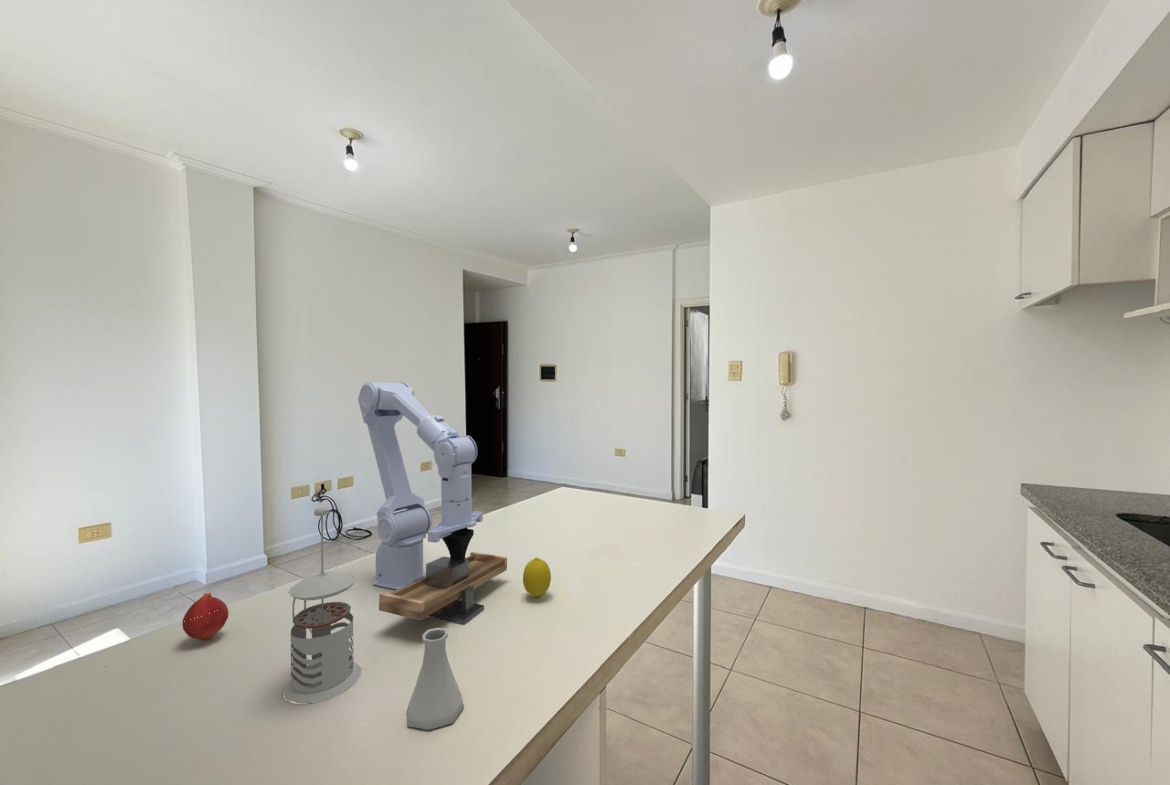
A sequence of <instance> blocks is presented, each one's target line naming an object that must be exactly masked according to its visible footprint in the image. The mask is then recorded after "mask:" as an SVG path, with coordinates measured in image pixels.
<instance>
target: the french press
mask: <svg viewBox="0 0 1170 785" xmlns="http://www.w3.org/2000/svg"><path fill="white" fill-rule="evenodd" d="M329 514H330V509H329V507H328V506H326V505H320V506H318V507H316V508H315V509H314V512H313V515H314V516H316V517H320V551H321V554H320V557H321V558H320V559H321V560H320V561H321V562H320V565H321V566H320V568H321V570H320V571H319V572H316V573H314V574H311V575H308V576H307V575H306V577H304V578H302V579H300V581H298V582H296V583H295V584H294V585H293V586H291V587H290V588H289V590H288V594H289V595H290V596H291V597H292V598H293V600H292V616H291V617H292V624H293V626H292V628H291V629H290V652H291V653H290V679H289V681H287V683H286V684H285V685H284V687H283V689H284V690H282V692H283V695H284V696H285V698H286V700H289V701H294V702H296V703H301V704H300V705H303V704H302V703H313V702H317V703H320V701H321V702H324V701H328V700H330V699H333V698H335V697H336V696H338V695H341V694H343V693H344V692H347V690H348V688H349V687H350V686H351V687H352V685H353V684H354V685H355V684H356V683H357V682H358V680H359V679H360V678H361V676H362V674H361V672H362V668H361V666H360V665H359V664H358V663H356V662H355V661H354V639H353V637H354V615H353V614H352V613H351V608H352V606H350V605H349V603H346V602H344V601H327V602H324V600H325V599H327V598H331V597H334V596H339V595H340V594H342V593H343V592H346V591H348V590H349V589H350V588H351V587H352V586H353V585H354V583H355V578H354V576H352V575H351V574H349V573H346V572H344V571H343V572H342V571H338V570H335V571H334V570H330V571H324V516H327V515H329ZM296 600H300V601H303V609H301V611H299V612H298V613H297V614H295V603H296ZM316 600H321V603H319V604H318V603H317V604H316V605H315V604H314V605H311V606H309V607H307V601H316ZM343 619H346V620H348V621H349V622H350V623H348V622H346V621H342V622H339V621H341V620H343ZM337 628H341V629H340V630H337V631H335V632H333V633H332V631H334V630H335V629H337ZM307 629H308V630H309V632H310V634H311V638H307ZM308 655H309V656H311V659H308V658H307V656H308ZM360 675H361V676H360ZM358 678H359V679H358ZM355 682H356V683H355ZM354 685H353V686H354ZM351 687H350V688H351ZM350 688H349V689H350ZM346 689H347V690H346ZM323 700H324V701H323ZM313 704H314V703H313Z"/></svg>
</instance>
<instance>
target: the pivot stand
mask: <svg viewBox="0 0 1170 785" xmlns="http://www.w3.org/2000/svg"><path fill="white" fill-rule="evenodd" d="M421 578H424V576H423V577H421ZM421 578H419V579H421ZM419 579H417V580H419ZM417 580H415V581H417ZM415 581H414V582H415ZM474 590H475V589H474V586H471V585H469V586H467V587H466V588H464V589H463V590H461V600H460V599H456V600H454V601H453V602H451V603H449V604H448V605H446V606H444V607H442V608H441V609H439V610H437V611H436V612H434V613H432V614H430V615H429V616H428V617H430V618H432V619H433V618H434V619H437V620H442V621H447V622H450V623H454V624H460V625H462V626H463V625H464V626H465V625H466V624H467V623H469V622H470V621H471V620H473V618H475V617H476V616H477V615H479V614H480V613H481V612H483V611H485V605H484V604H480V603H475V595H474V594H475V592H474Z"/></svg>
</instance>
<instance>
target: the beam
mask: <svg viewBox="0 0 1170 785" xmlns="http://www.w3.org/2000/svg"><path fill="white" fill-rule="evenodd" d="M469 554H470V555H469V556H467V557H465V560H469V575H468V578H466V579H464V580H462V581H460V582H458V583H457V584H455V585H453V586H451V587H449V588H447V589H440V588H435V587H430V586H426V577H424V578H421V579H419V580H417V581H415V582H413V583H411V584H409V585H406V586H404V587H402V588H400V589H398V590H394V591H391V592H390V593H387V592H382V593H379V594H378V597H379V598H378V611H380V612H384V613H388V614H393V615H397V616H401V617H406V618H409V619H413V620H418V621H422V620H424V619H426V618H427V617H429V615H430V614H432V613H434V612H436V611H437V610H439V609H441V608H442V607H444V606H446V605H448V604H449V603H451V602H453V601H454V600H456V599H457V600H460V599H461V590H463V589H464V588H466V587H467V586H469V585H471V586H474V590H475V589H477V588H478V587H480V586H481V585H484V584H485V583H486V582H488V581H489V582H490V580H492V579H494V578H495V577H497V576H499V575H500V574H502V573H504V572H506V571H507V570H508V557H506V556H502V555H497V554H496V555H495V554H489V553H483V552H476V551H471V552H470V553H469Z"/></svg>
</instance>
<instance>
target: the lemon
mask: <svg viewBox="0 0 1170 785" xmlns="http://www.w3.org/2000/svg"><path fill="white" fill-rule="evenodd" d="M551 574H552V573H551V569H550V566H549V564H548V563H547V562H546V561H545V560H543V559H542V558H539V557H535V558H534V559H531V560H530V561H528V562H527V564H526V565H525V567H524V570H523V574H522V584H523V587H524V589H525V591H526V592H527V593H528V594H529V595H530V596H532V597H534V598H536V599H539V598H540V597H541V596H543V595H544V594H545V593H546V592H548V590H549V588H550V587H551V586H550V585H551V580H552V575H551Z"/></svg>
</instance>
